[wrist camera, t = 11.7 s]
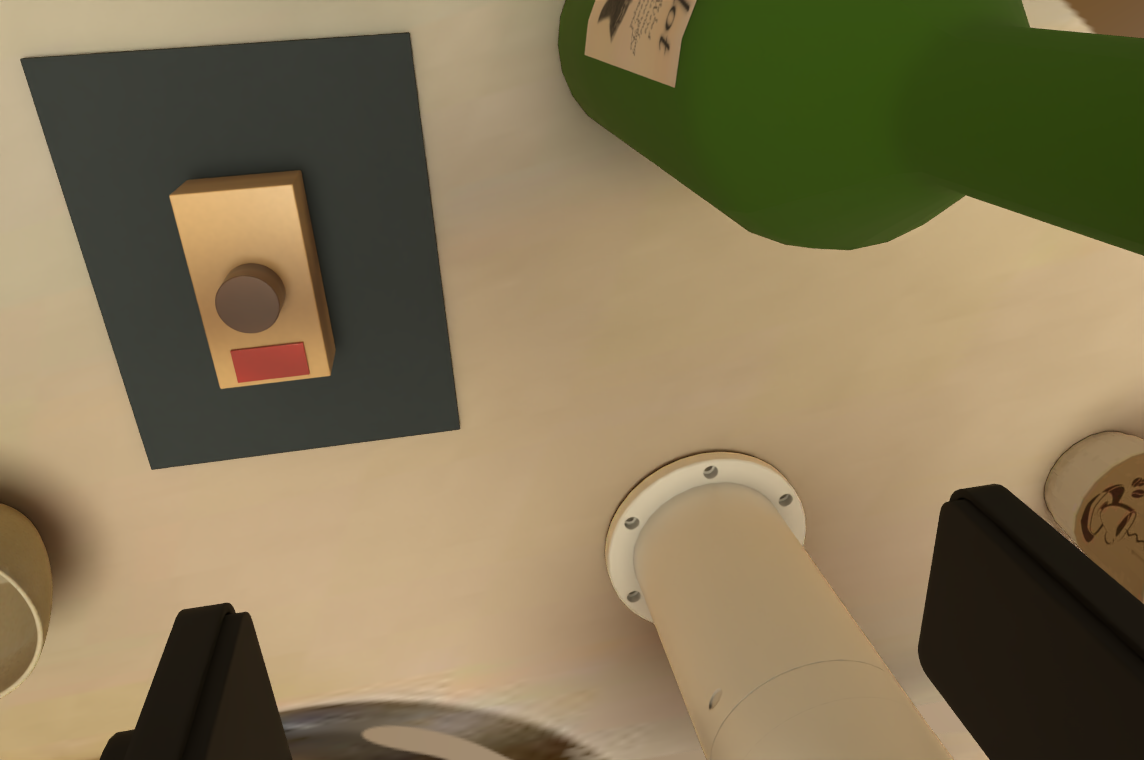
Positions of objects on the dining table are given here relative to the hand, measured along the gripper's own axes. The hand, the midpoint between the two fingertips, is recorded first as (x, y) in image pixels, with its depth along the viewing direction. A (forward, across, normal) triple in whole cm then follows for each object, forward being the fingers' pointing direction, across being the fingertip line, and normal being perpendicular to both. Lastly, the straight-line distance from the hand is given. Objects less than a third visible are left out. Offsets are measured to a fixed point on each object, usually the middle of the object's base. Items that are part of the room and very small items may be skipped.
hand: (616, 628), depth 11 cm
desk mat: (+32, +10, +4) cm, 34 cm away
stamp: (+32, +10, +4) cm, 34 cm away
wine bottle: (+32, -9, -5) cm, 34 cm away
